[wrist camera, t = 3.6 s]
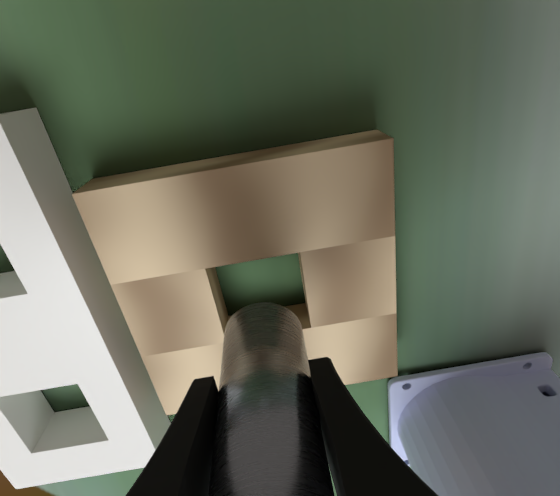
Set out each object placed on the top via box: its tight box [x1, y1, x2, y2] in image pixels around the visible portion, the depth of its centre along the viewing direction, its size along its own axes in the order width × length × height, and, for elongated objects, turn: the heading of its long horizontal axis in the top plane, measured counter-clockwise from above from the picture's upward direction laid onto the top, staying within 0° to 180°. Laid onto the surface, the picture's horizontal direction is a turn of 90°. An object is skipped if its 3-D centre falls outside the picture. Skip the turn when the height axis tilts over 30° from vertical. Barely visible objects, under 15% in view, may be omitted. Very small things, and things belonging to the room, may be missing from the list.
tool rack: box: [0, 108, 171, 489], centre depth 17 cm, size 8×18×2 cm, turn 9°
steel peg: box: [208, 302, 334, 496], centre depth 11 cm, size 3×3×7 cm
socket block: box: [72, 130, 398, 415], centre depth 17 cm, size 12×12×2 cm
